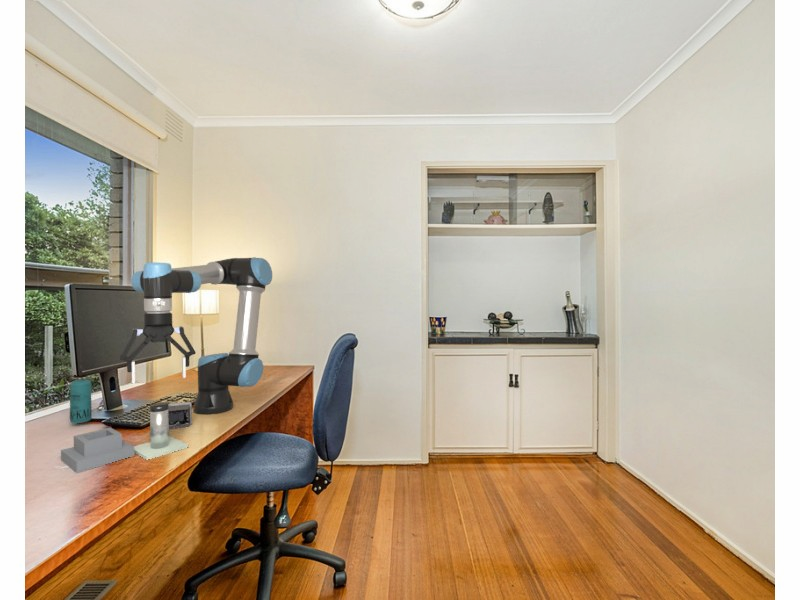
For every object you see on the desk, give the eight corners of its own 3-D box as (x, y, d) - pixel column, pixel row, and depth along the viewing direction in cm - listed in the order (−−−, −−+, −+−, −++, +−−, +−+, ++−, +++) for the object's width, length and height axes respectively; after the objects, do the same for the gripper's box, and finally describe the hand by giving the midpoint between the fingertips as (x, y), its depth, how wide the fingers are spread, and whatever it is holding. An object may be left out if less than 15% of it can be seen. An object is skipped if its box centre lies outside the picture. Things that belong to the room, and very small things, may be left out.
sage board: (170, 439, 135) (170, 436, 135) (188, 447, 128) (188, 444, 128) (130, 450, 126) (130, 447, 126) (146, 460, 118) (146, 457, 118)
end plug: (164, 441, 130) (164, 401, 130) (171, 445, 127) (171, 404, 127) (147, 446, 126) (147, 405, 126) (154, 450, 123) (154, 408, 123)
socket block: (116, 445, 130) (116, 424, 129) (134, 456, 121) (134, 433, 121) (61, 460, 118) (60, 436, 118) (76, 473, 110) (76, 447, 110)
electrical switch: (192, 424, 151) (191, 400, 150) (191, 429, 146) (190, 405, 145) (163, 427, 147) (162, 402, 146) (161, 433, 143) (160, 408, 142)
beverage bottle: (73, 422, 152) (73, 369, 151) (94, 420, 154) (94, 368, 154) (66, 428, 146) (65, 373, 145) (88, 426, 148) (87, 372, 147)
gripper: (108, 314, 116) (110, 387, 117) (204, 311, 130) (205, 377, 130) (109, 312, 122) (111, 382, 123) (200, 310, 136) (201, 372, 137)
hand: (159, 379), depth 127 cm, fingers open, 13 cm apart
